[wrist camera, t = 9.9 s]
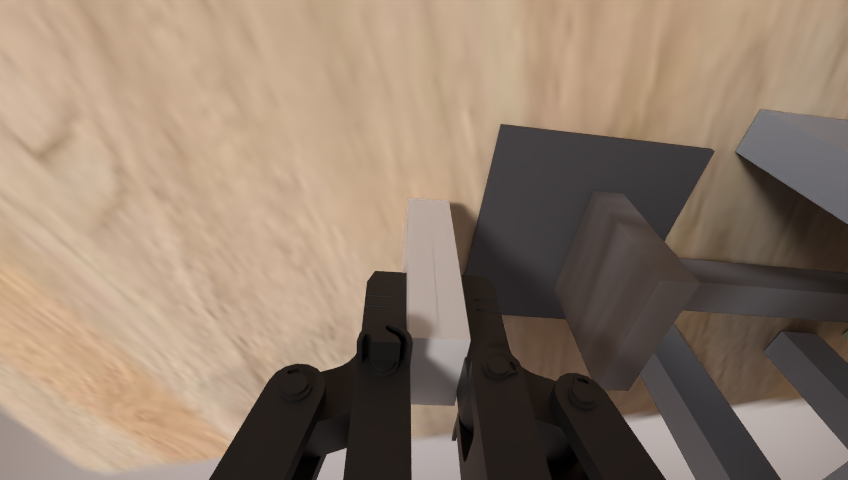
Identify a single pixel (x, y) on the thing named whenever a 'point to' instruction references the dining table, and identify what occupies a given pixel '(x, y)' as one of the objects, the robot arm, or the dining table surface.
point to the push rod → (666, 290)
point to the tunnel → (790, 351)
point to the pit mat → (566, 204)
